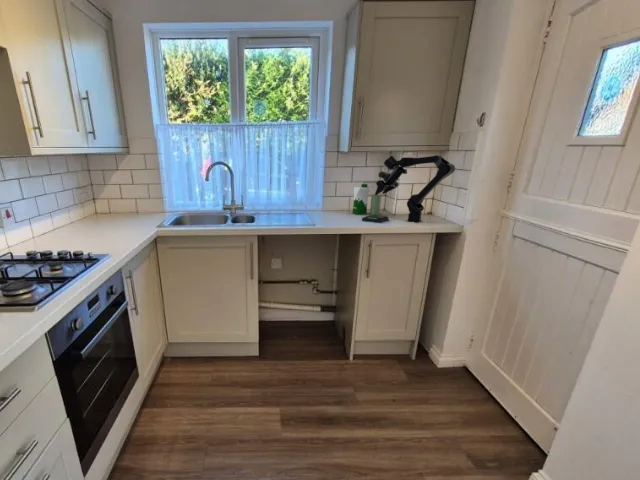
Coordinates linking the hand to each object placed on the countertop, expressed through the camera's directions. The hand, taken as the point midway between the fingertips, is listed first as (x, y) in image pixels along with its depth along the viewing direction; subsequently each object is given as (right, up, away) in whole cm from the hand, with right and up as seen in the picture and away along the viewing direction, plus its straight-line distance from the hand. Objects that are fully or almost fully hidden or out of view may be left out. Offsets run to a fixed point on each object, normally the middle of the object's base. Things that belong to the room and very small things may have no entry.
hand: (379, 194), depth 237 cm
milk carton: (-8, -9, +18) cm, 22 cm away
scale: (-6, -19, -9) cm, 22 cm away
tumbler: (+1, -11, +13) cm, 17 cm away
